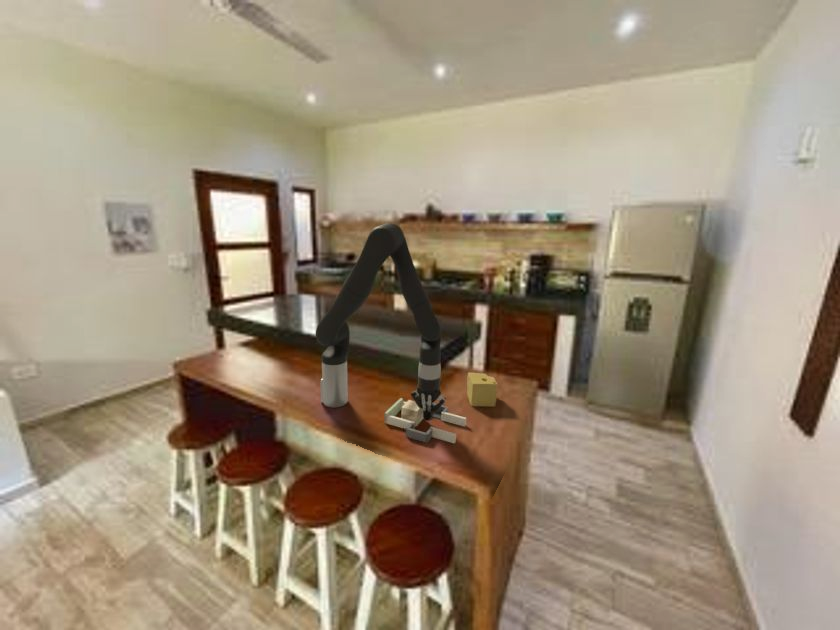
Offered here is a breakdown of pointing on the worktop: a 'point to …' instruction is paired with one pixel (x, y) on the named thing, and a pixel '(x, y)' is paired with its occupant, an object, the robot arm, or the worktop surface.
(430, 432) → the trap box
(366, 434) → the worktop surface
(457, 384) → the worktop surface
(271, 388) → the worktop surface
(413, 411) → the birch block
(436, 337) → the robot arm
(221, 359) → the worktop surface
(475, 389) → the cheese
